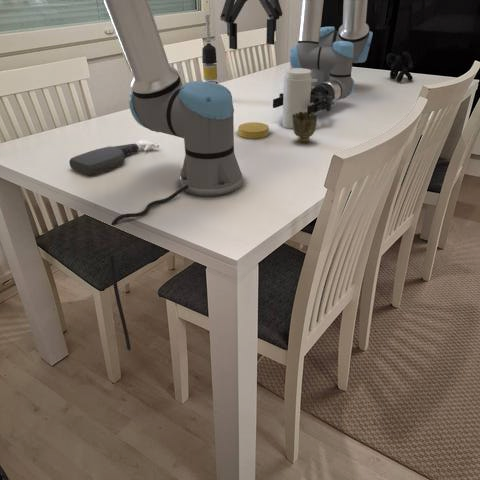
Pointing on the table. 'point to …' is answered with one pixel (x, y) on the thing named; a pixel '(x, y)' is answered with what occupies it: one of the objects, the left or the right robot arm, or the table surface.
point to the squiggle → (399, 66)
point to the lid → (253, 130)
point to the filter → (209, 57)
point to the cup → (304, 125)
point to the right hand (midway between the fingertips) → (290, 107)
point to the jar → (295, 93)
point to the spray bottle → (106, 157)
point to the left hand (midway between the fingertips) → (252, 46)
